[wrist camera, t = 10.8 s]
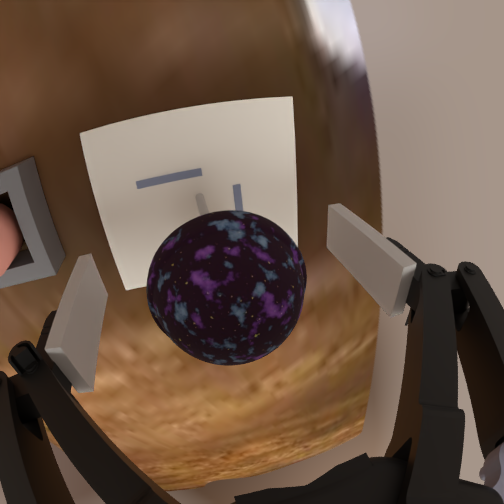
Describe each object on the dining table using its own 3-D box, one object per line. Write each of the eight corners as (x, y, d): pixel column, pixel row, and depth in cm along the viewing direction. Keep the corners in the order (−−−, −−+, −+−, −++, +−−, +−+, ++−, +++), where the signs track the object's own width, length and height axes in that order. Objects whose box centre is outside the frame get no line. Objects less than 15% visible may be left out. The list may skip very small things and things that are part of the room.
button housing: (-38, 189, 15) (-55, 201, 13) (33, 156, 17) (17, 165, 15) (-4, 274, 20) (-16, 292, 18) (65, 255, 22) (56, 274, 19)
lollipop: (259, 202, 24) (358, 333, 11) (192, 252, 25) (227, 414, 12) (209, 135, 20) (279, 211, 8) (137, 193, 21) (102, 344, 8)
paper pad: (80, 132, 18) (79, 133, 17) (290, 96, 20) (292, 96, 20) (126, 287, 25) (126, 290, 25) (296, 251, 28) (298, 253, 27)
